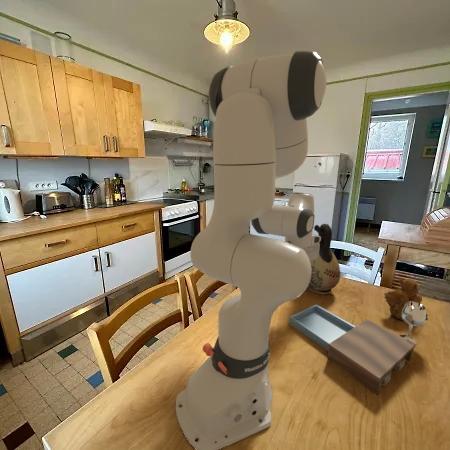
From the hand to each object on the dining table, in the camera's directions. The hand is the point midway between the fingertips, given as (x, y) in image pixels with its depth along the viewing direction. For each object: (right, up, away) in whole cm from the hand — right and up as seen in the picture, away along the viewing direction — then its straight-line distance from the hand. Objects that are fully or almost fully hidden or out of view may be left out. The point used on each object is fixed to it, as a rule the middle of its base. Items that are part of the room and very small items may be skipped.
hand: (295, 275), depth 87 cm
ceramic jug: (+15, -10, +17) cm, 25 cm away
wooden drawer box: (+15, -19, -20) cm, 31 cm away
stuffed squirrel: (+39, -15, +1) cm, 42 cm away
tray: (+7, -16, -8) cm, 20 cm away
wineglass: (+31, -18, -12) cm, 38 cm away
